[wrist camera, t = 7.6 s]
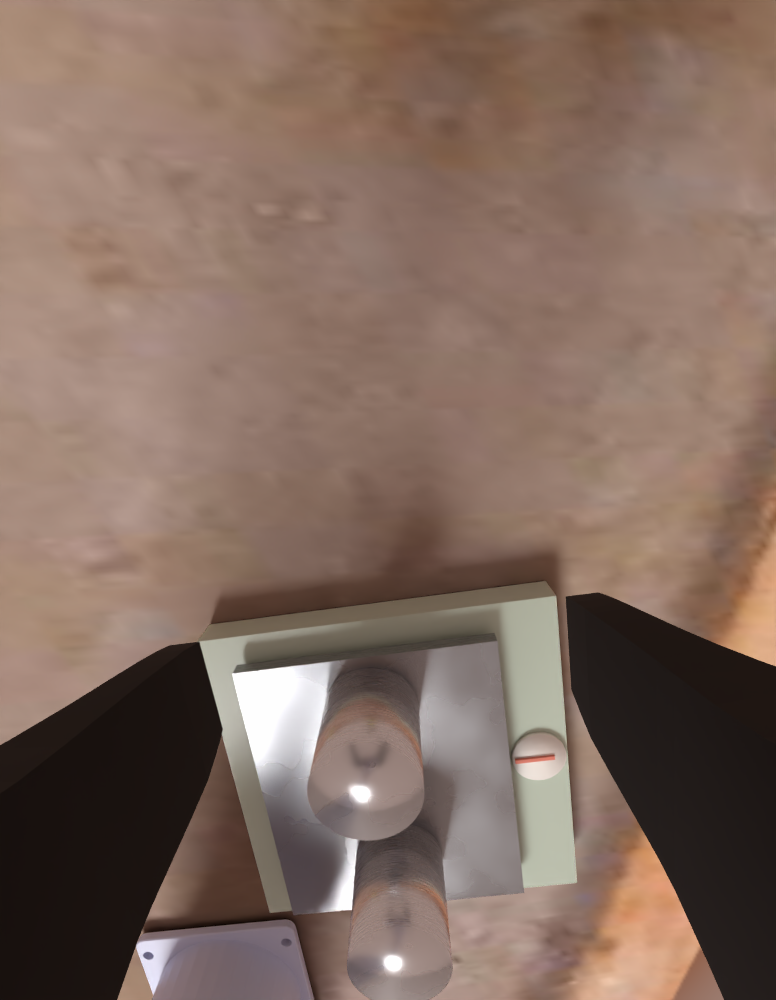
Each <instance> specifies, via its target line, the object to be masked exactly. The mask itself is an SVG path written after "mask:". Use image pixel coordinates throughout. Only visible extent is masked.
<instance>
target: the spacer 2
mask: <svg viewBox="0 0 776 1000" xmlns="http://www.w3.org/2000/svg"><path fill="white" fill-rule="evenodd" d="M452 969H453V966H452V955H451V944H450V933H449V923H448V912H447V901H446V891H445V880H444V870H443V859H442V852H441V848H440V846H439V844H438V843H437V841H436V840H435V839H434V837H433V836H431V835H430V834H429V833H428V832H426V831H425V830H423V829H421V828H419V827H416V826H413V825H409V826H408V827H407V828H406V829H404V830H403V831H401V832H399V833H397V834H396V835H393V836H391V837H388V838H384V839H380V840H369V841H364V840H362V841H361V842H360V844H359V846H358V849H357V853H356V864H355V876H354V888H353V900H352V912H351V924H350V936H349V948H348V960H347V970H348V975H349V978H350V980H351V982H352V983H353V985H354V986H355V987H356V988H357V989H358V990H359V991H360V992H361V993H362V994H364V995H365V996H367V997H368V998H370V999H372V1000H429V999H431V998H433V997H435V996H436V995H438V994H439V993H440V992H441V991H442V990H443V989H444V988H445V987H446V985H447V984H448V982H449V980H450V978H451V975H452Z"/></svg>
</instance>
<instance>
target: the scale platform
mask: <svg viewBox="0 0 776 1000" xmlns="http://www.w3.org/2000/svg"><path fill="white" fill-rule="evenodd" d="M368 667H374V668H382V669H386V670H389V671H392V672H394V673H396V674H398V675H399V676H401V677H402V678H403V679H405V680H406V681H407V682H408V683H409V684H410V686H411V687H412V688H413V690H414V692H415V694H416V696H417V699H418V704H419V718H420V733H421V748H422V763H423V778H424V802H423V806H422V808H421V811H420V813H419V814H418V816H417V818H416V819H415V820H414V821H413V822H412V824H410V825H413V826H416V827H419V828H421V829H423V830H425V831H426V832H428V833H429V834H430V835H431V836H433V837H434V839H435V840H436V841H437V843H438V844H439V846H440V848H441V852H442V859H443V870H444V880H445V891H446V900H456V899H466V898H476V897H486V896H496V895H507V894H517V893H524V887H523V877H522V868H521V858H520V849H519V839H518V830H517V821H516V811H515V802H514V792H513V783H512V773H511V764H510V755H509V745H508V736H507V726H506V717H505V707H504V698H503V689H502V679H501V670H500V660H499V651H498V641H497V638H496V636H495V633H488V634H480V635H472V636H464V637H456V638H448V639H440V640H432V641H424V642H416V643H408V644H400V645H392V646H384V647H376V648H368V649H360V650H352V651H344V652H336V653H328V654H320V655H312V656H304V657H296V658H288V659H280V660H272V661H264V662H256V663H248V664H240V665H237V666H236V668H235V669H234V671H233V673H232V675H233V679H234V683H235V687H236V691H237V695H238V699H239V703H240V707H241V711H242V715H243V719H244V723H245V727H246V731H247V735H248V738H249V742H250V746H251V750H252V754H253V758H254V762H255V766H256V770H257V774H258V778H259V782H260V786H261V790H262V794H263V798H264V801H265V805H266V809H267V813H268V817H269V821H270V825H271V829H272V833H273V837H274V841H275V845H276V849H277V853H278V857H279V860H280V864H281V868H282V872H283V876H284V880H285V884H286V888H287V892H288V896H289V900H290V904H291V908H292V912H293V915H302V914H313V913H323V912H333V911H343V910H352V900H353V888H354V876H355V864H356V853H357V849H358V846H359V844H360V842H361V841H362V840H355V839H350V838H347V837H343V836H341V835H339V834H336V833H335V832H333V831H331V830H330V829H328V828H327V827H325V826H324V825H323V824H322V823H321V822H320V821H319V820H318V819H317V817H316V816H315V815H314V813H313V811H312V809H311V807H310V805H309V801H308V796H307V785H308V780H309V775H310V771H311V766H312V761H313V757H314V752H315V747H316V743H317V738H318V733H319V729H320V724H321V719H322V715H323V710H324V705H325V700H326V697H327V694H328V692H329V690H330V688H331V686H332V685H333V684H334V683H335V682H336V681H337V680H338V679H339V678H340V677H341V676H343V675H345V674H346V673H348V672H350V671H353V670H356V669H360V668H368Z"/></svg>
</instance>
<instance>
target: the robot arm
mask: <svg viewBox="0 0 776 1000" xmlns="http://www.w3.org/2000/svg"><path fill="white" fill-rule="evenodd" d="M566 608H567V624H568V640H569V656H570V673H571V689H572V692H573V695H574V697H575V700H576V702H577V705H578V707H579V710H580V713H581V715H582V718H583V720H584V722H585V725H586V727H587V729H588V732H589V734H590V737H591V739H592V741H593V742H594V744H595V746H596V748H597V750H598V752H599V753H600V755H601V757H602V759H603V761H604V762H605V764H606V766H607V768H608V770H609V771H610V773H611V775H612V777H613V779H614V780H615V782H616V784H617V786H618V787H619V789H620V791H621V793H622V794H623V796H624V798H625V800H626V802H627V803H628V805H629V807H630V809H631V810H632V812H633V814H634V816H635V817H636V819H637V821H638V823H639V825H640V826H641V828H642V830H643V832H644V833H645V835H646V837H647V839H648V841H649V842H650V844H651V846H652V848H653V849H654V851H655V853H656V855H657V856H658V858H659V860H660V862H661V864H662V866H663V868H664V870H665V872H666V874H667V876H668V878H669V879H670V881H671V883H672V885H673V887H674V889H675V891H676V893H677V896H678V898H679V900H680V902H681V904H682V907H683V909H684V911H685V913H686V915H687V918H688V920H689V922H690V924H691V926H692V929H693V931H694V933H695V935H696V937H697V940H698V942H699V944H700V946H701V948H702V951H703V953H704V955H705V957H706V959H707V961H708V964H709V966H710V968H711V970H712V973H713V975H714V977H715V980H716V982H717V984H718V987H719V989H720V991H721V993H722V996H723V998H724V1000H776V666H773V665H770V664H767V663H764V662H762V661H759V660H756V659H754V658H751V657H749V656H746V655H744V654H741V653H738V652H736V651H733V650H731V649H728V648H726V647H723V646H720V645H718V644H716V643H713V642H711V641H708V640H706V639H704V638H701V637H699V636H697V635H694V634H692V633H690V632H687V631H685V630H683V629H681V628H678V627H676V626H674V625H672V624H669V623H667V622H665V621H663V620H661V619H658V618H656V617H654V616H652V615H650V614H648V613H645V612H643V611H641V610H639V609H637V608H635V607H632V606H630V605H628V604H626V603H624V602H621V601H619V600H617V599H614V598H612V597H610V596H607V595H604V594H601V593H591V594H583V595H575V596H567V597H566ZM222 731H223V728H222V724H221V720H220V717H219V713H218V709H217V705H216V702H215V698H214V694H213V691H212V687H211V683H210V679H209V676H208V672H207V668H206V664H205V661H204V657H203V653H202V650H201V646H200V642H194V643H186V644H178V645H170V646H168V647H165V648H163V649H161V650H159V651H157V652H155V653H153V654H151V655H150V656H148V657H146V658H144V659H143V660H141V661H139V662H137V663H136V664H134V665H133V666H131V667H129V668H128V669H126V670H124V671H123V672H121V673H119V674H118V675H116V676H115V677H113V678H111V679H110V680H108V681H107V682H105V683H103V684H102V685H100V686H99V687H97V688H95V689H94V690H92V691H91V692H89V693H87V694H86V695H84V696H83V697H81V698H79V699H78V700H76V701H75V702H73V703H71V704H70V705H68V706H66V707H65V708H63V709H61V710H60V711H58V712H56V713H55V714H53V715H51V716H49V717H48V718H46V719H44V720H43V721H41V722H39V723H38V724H36V725H34V726H33V727H31V728H29V729H27V730H26V731H24V732H22V733H21V734H19V735H17V736H16V737H14V738H12V739H11V740H9V741H7V742H5V743H3V744H2V745H0V1000H117V998H118V995H119V993H120V990H121V987H122V984H123V981H124V978H125V975H126V973H127V970H128V967H129V964H130V961H131V958H132V955H133V953H134V950H135V947H136V948H137V951H138V954H139V957H140V959H141V962H142V965H143V968H144V970H145V973H146V976H147V979H148V982H149V984H150V987H151V990H152V993H153V998H152V1000H314V996H313V992H312V988H311V984H310V981H309V977H308V973H307V969H306V965H305V961H304V957H303V953H302V949H301V945H300V941H299V937H298V933H297V929H296V926H295V924H294V923H293V922H292V921H290V920H287V919H283V920H273V921H262V922H252V923H242V924H232V925H221V926H211V927H201V928H191V929H180V930H170V931H160V932H150V933H144V934H142V935H141V936H140V934H141V931H142V929H143V926H144V924H145V921H146V919H147V916H148V914H149V912H150V909H151V907H152V904H153V902H154V900H155V898H156V895H157V893H158V891H159V889H160V887H161V884H162V882H163V880H164V878H165V876H166V873H167V871H168V869H169V867H170V864H171V862H172V860H173V858H174V856H175V853H176V851H177V849H178V847H179V844H180V842H181V840H182V838H183V836H184V833H185V831H186V829H187V827H188V825H189V822H190V820H191V818H192V816H193V813H194V811H195V809H196V806H197V804H198V802H199V800H200V797H201V795H202V793H203V790H204V788H205V786H206V783H207V781H208V778H209V775H210V772H211V769H212V766H213V763H214V759H215V756H216V753H217V749H218V745H219V742H220V738H221V734H222ZM139 936H140V938H139ZM138 939H139V940H138ZM137 941H138V942H137Z"/></svg>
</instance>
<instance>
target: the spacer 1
mask: <svg viewBox="0 0 776 1000" xmlns="http://www.w3.org/2000/svg"><path fill="white" fill-rule="evenodd" d="M307 796H308V801H309V805H310V807H311V809H312V811H313V813H314V815H315V816H316V817H317V819H318V820H319V821H320V822H321V823H322V824H323V825H324V826H325V827H327V828H328V829H330V830H331V831H333V832H335V833H336V834H339V835H341V836H343V837H347V838H350V839H355V840H364V841H369V840H380V839H384V838H388V837H391V836H393V835H396V834H397V833H399V832H401V831H403V830H404V829H406V828H407V827H408V826H409V825H410V824H412V822H413V821H414V820H415V819H416V818H417V816H418V814H419V813H420V811H421V808H422V806H423V802H424V778H423V763H422V748H421V733H420V718H419V704H418V699H417V696H416V694H415V692H414V690H413V688H412V687H411V686H410V684H409V683H408V682H407V681H406V680H405V679H403V678H402V677H401V676H399V675H398V674H396V673H394V672H392V671H389V670H386V669H382V668H374V667H368V668H360V669H356V670H353V671H350V672H348V673H346V674H345V675H343V676H341V677H340V678H339V679H338V680H337V681H336V682H335V683H334V684H333V685H332V686H331V688H330V690H329V692H328V694H327V697H326V700H325V705H324V710H323V715H322V719H321V724H320V729H319V733H318V738H317V743H316V747H315V752H314V757H313V761H312V766H311V771H310V775H309V780H308V785H307Z"/></svg>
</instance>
